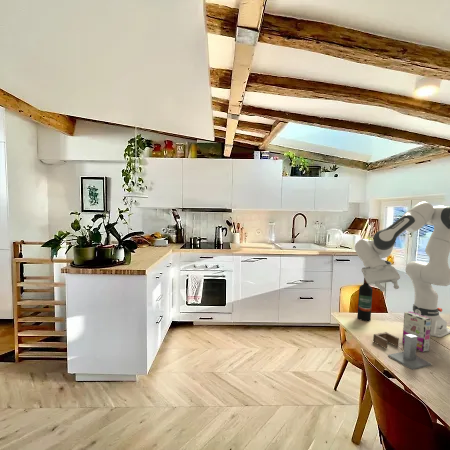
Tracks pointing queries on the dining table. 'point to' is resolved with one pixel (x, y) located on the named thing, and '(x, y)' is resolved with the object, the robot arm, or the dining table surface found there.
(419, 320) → the candy bar box
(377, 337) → the holder
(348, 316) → the dining table surface
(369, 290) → the wine bottle
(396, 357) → the coaster
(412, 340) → the gray rectangular block
